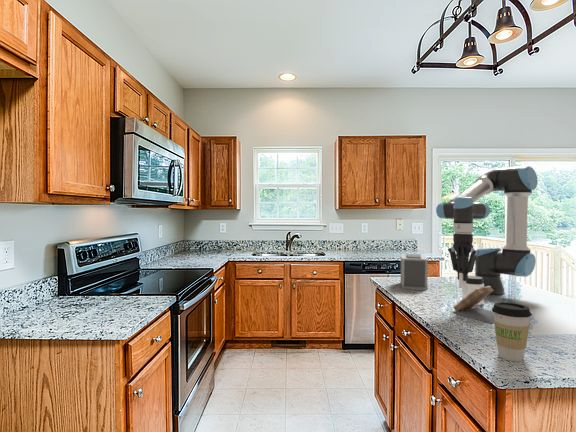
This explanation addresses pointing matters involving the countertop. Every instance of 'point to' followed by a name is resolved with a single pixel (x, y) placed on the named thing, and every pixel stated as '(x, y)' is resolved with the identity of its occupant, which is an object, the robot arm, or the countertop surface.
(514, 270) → the robot arm
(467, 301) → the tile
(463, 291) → the jar
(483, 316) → the mat
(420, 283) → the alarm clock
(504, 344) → the coffee cup
